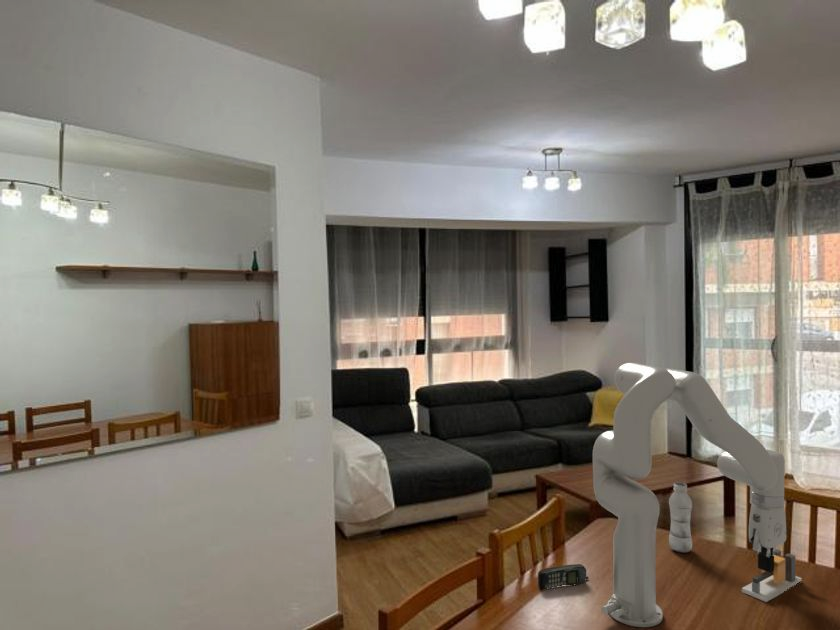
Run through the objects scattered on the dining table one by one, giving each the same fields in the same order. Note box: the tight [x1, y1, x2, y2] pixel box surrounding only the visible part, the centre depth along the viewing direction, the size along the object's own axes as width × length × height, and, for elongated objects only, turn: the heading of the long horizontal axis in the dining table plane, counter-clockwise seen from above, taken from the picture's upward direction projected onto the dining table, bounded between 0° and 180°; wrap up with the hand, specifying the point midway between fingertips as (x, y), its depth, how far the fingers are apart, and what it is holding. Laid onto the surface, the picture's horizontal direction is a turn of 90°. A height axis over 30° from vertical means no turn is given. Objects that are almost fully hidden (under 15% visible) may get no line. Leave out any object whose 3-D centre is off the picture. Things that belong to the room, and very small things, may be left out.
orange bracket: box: [760, 555, 785, 584], centre depth 149 cm, size 4×4×6 cm
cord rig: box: [741, 548, 802, 603], centre depth 149 cm, size 18×6×8 cm, turn 122°
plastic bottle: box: [668, 481, 693, 553], centre depth 171 cm, size 6×7×20 cm
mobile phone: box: [537, 563, 590, 590], centre depth 152 cm, size 5×3×15 cm
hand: (765, 569), depth 147 cm, fingers closed
